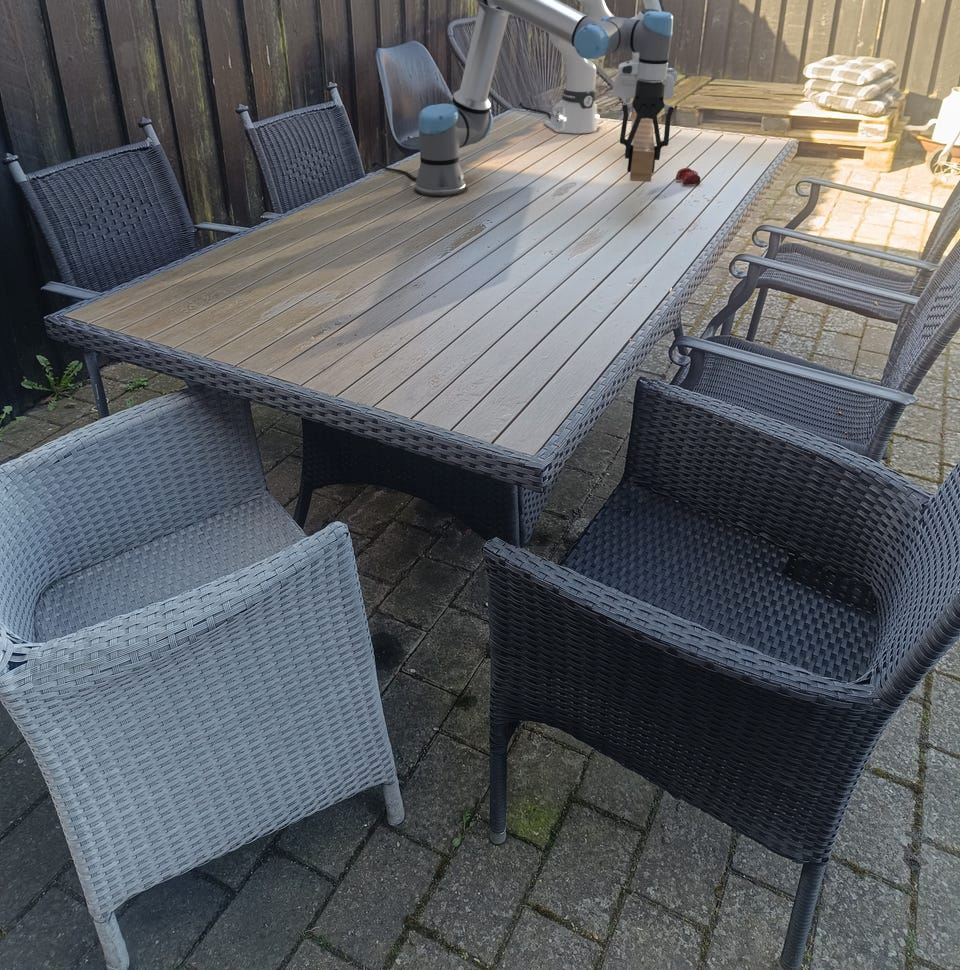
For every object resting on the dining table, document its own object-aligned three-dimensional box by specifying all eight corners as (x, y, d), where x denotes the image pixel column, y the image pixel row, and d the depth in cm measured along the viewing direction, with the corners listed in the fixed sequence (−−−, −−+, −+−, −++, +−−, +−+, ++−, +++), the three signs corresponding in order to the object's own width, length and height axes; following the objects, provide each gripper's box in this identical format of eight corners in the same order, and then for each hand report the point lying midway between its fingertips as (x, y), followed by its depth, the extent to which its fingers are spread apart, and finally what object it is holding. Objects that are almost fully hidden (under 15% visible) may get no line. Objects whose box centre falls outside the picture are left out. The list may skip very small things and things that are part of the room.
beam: (650, 182, 227) (654, 151, 222) (629, 180, 227) (633, 150, 223) (648, 116, 289) (650, 91, 284) (631, 115, 289) (634, 90, 285)
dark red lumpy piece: (691, 164, 266) (703, 171, 259) (690, 177, 268) (701, 185, 262) (675, 166, 265) (686, 173, 258) (673, 179, 267) (684, 187, 261)
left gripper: (686, 78, 221) (674, 169, 235) (615, 75, 223) (606, 165, 237) (688, 84, 215) (675, 176, 229) (615, 81, 217) (606, 173, 231)
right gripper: (677, 66, 274) (671, 111, 283) (614, 64, 277) (610, 108, 285) (678, 70, 269) (672, 116, 278) (614, 67, 272) (610, 113, 280)
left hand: (640, 171), depth 233 cm, fingers closed on beam, 6 cm apart
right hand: (640, 112), depth 281 cm, fingers closed on beam, 5 cm apart
